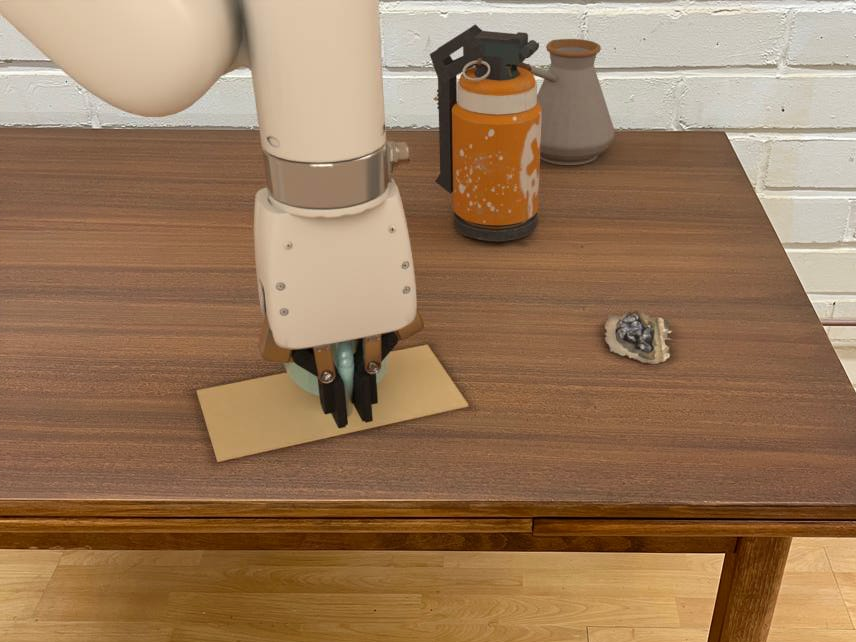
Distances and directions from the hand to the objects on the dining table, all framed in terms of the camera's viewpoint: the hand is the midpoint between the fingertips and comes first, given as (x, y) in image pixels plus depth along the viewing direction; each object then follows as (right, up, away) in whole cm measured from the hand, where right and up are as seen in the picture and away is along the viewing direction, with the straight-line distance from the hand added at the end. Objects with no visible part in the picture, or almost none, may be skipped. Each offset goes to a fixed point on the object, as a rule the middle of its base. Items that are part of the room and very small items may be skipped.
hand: (350, 413), depth 70 cm
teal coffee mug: (-2, +4, +7) cm, 8 cm away
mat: (-2, +2, +7) cm, 7 cm away
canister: (+10, +22, +33) cm, 41 cm away
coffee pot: (+17, +34, +47) cm, 61 cm away
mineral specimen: (+24, +7, +14) cm, 29 cm away
